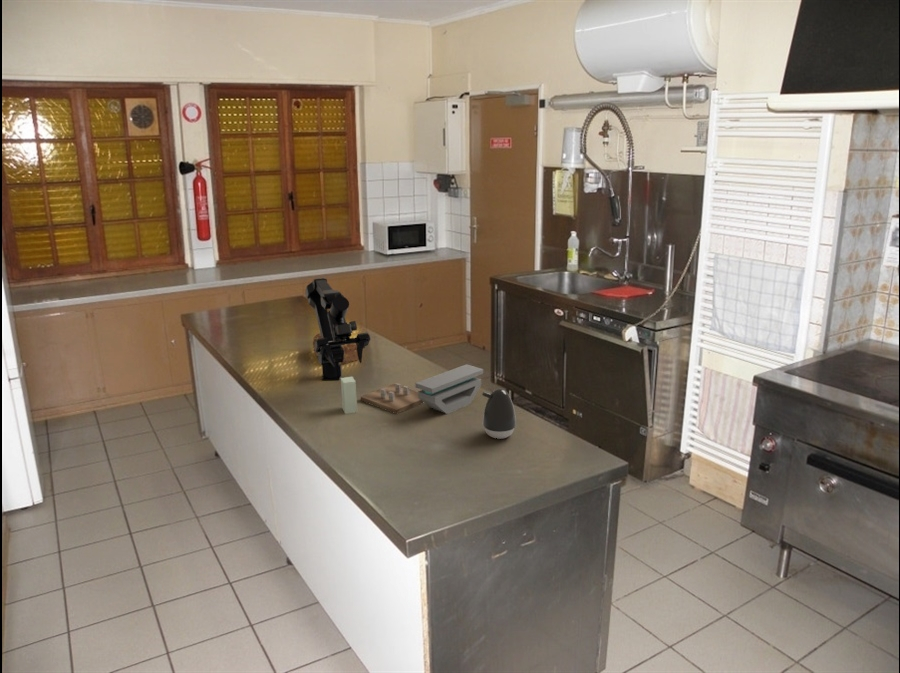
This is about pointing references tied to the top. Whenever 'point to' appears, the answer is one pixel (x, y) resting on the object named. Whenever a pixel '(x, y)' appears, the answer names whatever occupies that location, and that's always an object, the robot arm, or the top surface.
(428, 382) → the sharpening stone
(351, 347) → the bread
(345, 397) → the pale panelled upright block
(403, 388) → the tan board with pegs
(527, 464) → the top surface
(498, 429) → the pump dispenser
